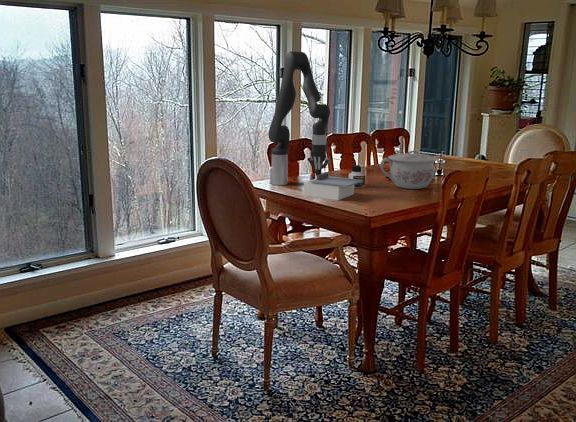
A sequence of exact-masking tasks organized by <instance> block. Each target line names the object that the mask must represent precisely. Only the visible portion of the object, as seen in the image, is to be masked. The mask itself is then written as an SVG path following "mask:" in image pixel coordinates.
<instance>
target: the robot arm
mask: <svg viewBox="0 0 576 422" xmlns="http://www.w3.org/2000/svg"><path fill="white" fill-rule="evenodd" d="M296 70H300V72H301V74H302V75H303V83H302V90H303V93H304V96H305V98H306V101H307V105H308V112H309V114H310V117H312V118H314V119H318V121H317V122H314V123H313V124H312V135H311V136H312V137H311V155H310V157H308V158H307V161H308V163H309V164H310V166H311V167H312V169H315V176H316V177H317V175H319V174H323V173H322V171H323V169H325V168H326V167H328V165H329V163H330V162H331V159H329V158H328V157H327V125H328V123H329V118H330V115H331V110H330V107H329V105H328V104H326V103H319V102H320V101H321V99H322V98H321V97H322V96H321V94H320V92H319V89H318V87H317V85H316V83H315V79H314V75H313V71H312V68H311V65H310V60H309V57H308V55H307V54H306V52H303V51H293V50H291V51H289V52H287V53H286V55H285V60H284V65H283V70H282V71H283V72H282V78H281V84H280V88H279V92H278V96H277V101H276V106H275V110H274V114H273V116H272V117H273V118H272V120H271V123H270V125H269V129H268V139H269V141H270V142H271V143H277V145H276V146H274V147H273V148H271V166H270V167H269V184H271V185H273V186H287V185H288V180H289V179H288V176H289V174H288V169H289V168H288V166H289V165H288V163H289V160H288V159H289V157H288V156H289V154H288V153H289V149H290V140H291V138H290V137H291V134H290V132H291V131H290V129H289V127H288V126H287V125H285V124H284V125H282V123H283V122H284V120H285V118H286V117H287V115H289V113H291V110H292V109H293V107H294V105H295V102H296V95H297V93H296V91H297V90H296V87H295V85H294V73H295V71H296Z"/></svg>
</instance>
